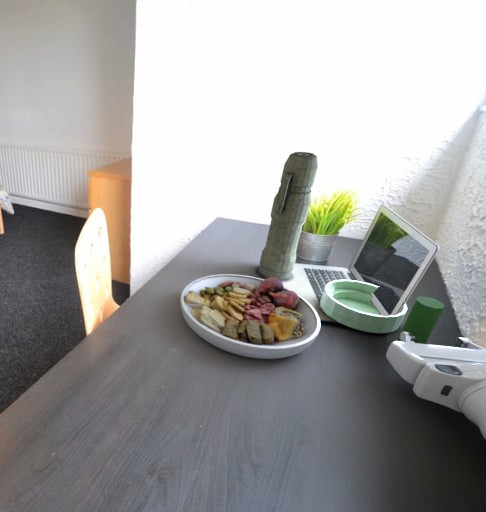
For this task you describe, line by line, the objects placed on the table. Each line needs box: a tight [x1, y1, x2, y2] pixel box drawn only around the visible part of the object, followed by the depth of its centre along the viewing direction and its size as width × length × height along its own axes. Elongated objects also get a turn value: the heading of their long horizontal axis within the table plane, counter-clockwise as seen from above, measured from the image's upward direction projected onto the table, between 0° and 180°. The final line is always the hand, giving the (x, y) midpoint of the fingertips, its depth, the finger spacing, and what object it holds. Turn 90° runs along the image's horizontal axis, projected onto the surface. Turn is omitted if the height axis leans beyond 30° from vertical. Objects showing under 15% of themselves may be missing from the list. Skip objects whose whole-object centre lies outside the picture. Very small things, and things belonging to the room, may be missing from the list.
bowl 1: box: [180, 273, 321, 360], centre depth 87 cm, size 30×30×8 cm
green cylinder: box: [396, 295, 446, 344], centre depth 76 cm, size 4×4×12 cm
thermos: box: [258, 151, 319, 282], centre depth 101 cm, size 9×12×35 cm
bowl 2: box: [319, 279, 408, 334], centre depth 89 cm, size 16×16×5 cm
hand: (432, 337), depth 73 cm, fingers open, 8 cm apart
